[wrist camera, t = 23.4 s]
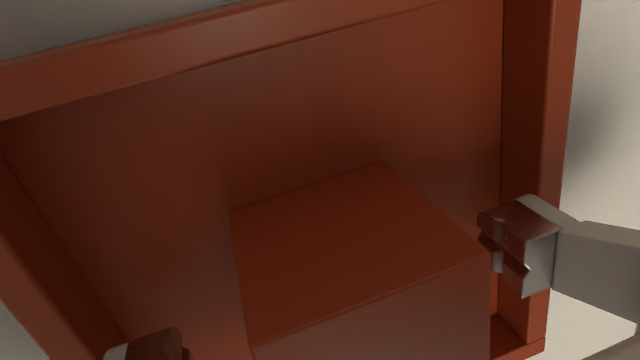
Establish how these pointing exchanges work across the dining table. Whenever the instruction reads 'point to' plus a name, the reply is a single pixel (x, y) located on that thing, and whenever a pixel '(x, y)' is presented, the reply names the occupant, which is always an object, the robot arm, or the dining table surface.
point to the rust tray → (262, 151)
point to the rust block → (360, 274)
